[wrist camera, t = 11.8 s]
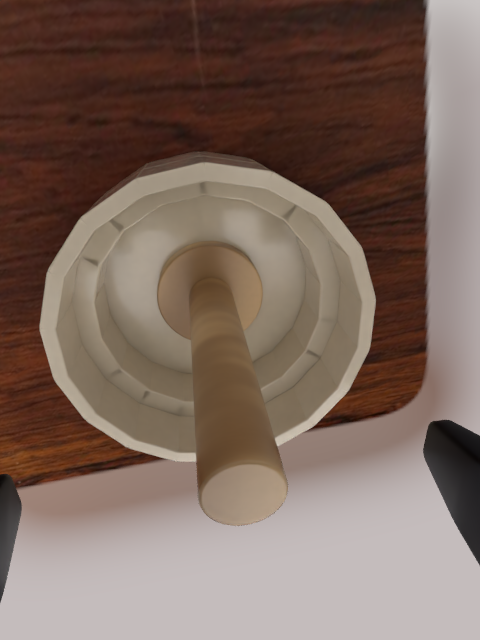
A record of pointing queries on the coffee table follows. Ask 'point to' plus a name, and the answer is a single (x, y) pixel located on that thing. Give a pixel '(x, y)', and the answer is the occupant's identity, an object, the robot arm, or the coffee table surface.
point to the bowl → (174, 350)
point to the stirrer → (224, 380)
